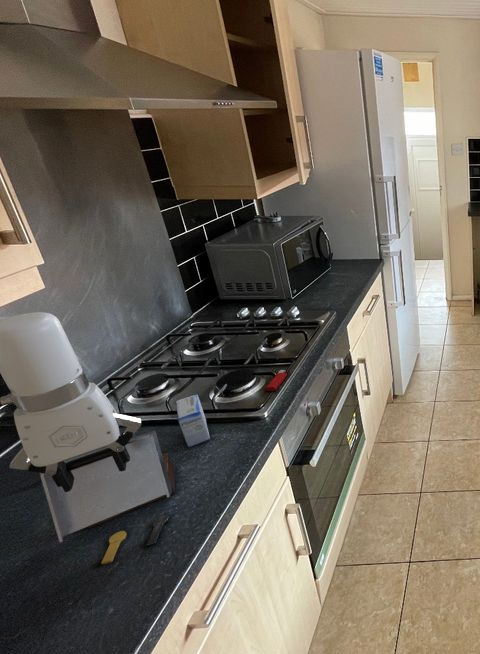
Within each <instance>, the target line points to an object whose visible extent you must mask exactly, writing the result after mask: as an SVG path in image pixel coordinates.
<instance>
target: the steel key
mask: <svg viewBox="0 0 480 654" xmlns="http://www.w3.org/2000/svg"><path fill="white" fill-rule="evenodd" d="M169 521H170V517H169V515H167V514H163V515H160V516H158V517H157V518H156V519H154V520H153V522H152V527H153V528H152V531H151V533H150V535H149V538H148V540H147V543H146V547H152V546H155V545H157V544H158V541H159V539H160V536H161V533H162V531H163V529H164V527H165V526H166V525H167V524H168V522H169Z"/></svg>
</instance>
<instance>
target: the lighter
mask: <svg viewBox="0 0 480 654" xmlns="http://www.w3.org/2000/svg"><path fill="white" fill-rule="evenodd" d="M288 375H289V373H288V371H286V369H280V370H278V372H277V373H276V375H275V376H274V377H273V378H272V380H270V382H269V383H268V385H267V386H266V387H265V391H267V392H275V391H277V389H278V388H279V386H280V385H281V384H282V383H283V381H285V379H286V377H287V376H288Z"/></svg>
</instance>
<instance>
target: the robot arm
mask: <svg viewBox="0 0 480 654" xmlns="http://www.w3.org/2000/svg"><path fill="white" fill-rule="evenodd" d="M0 375H1V377H2V379H3V381H4V383H5V384H6V386H7V388H8V390H9V391H10V393H8V394H7V395H3V396H0V404H1V405H2V406H7V405H15V406H16V409H15V410H14V411H13V419H14V424H15V427H16V431H17V434H18V437H19V439H20V443H21V445H22V448H21V449H20V450H19V451H18V452H17V453H16V455H15V456H14V457H13V458H12V460H11V462H10V464H9V469H13V470H20V471H21V470H22V471H28V472H31V473H37V474H40V473H44V474H45V475H46V476H52V478H53V480H54V482H55V483H56V485H57V487H61V486H62V488H63V490H64V491H65V492H68V491H70V490H71V489H72V486H73V482H74V476H73V474H72V472H71V471H68V469H67V466H66V464H67V463H66V462H64V461H66V460H69V459H72V458H75V457H78V456H81V455H84V454H87V453H90V452H93V451H96V450H99V449H102V448H105V447H108V448H110V449H112V450H113V453H112V457H113V459H114V461H115V463H116V465H117V467H118V469H119V471H121V472H122V471H125V470H126V463H127V462H129V461H130V456H129V453H128V451H127V449H126V447H125V446H126V444H127V443H128V442H129V441H130V439H131V438H133V436H134V435H135V433H137V431H138V430H139V429H140V428H141V426H142V423H143V419H142V418H139V417H135V416H130V415H127V414H121V413H117V411H116V409H115V408H114V406H113V404H112V403H111V401H110V400H109V398H108V397H107V396H106V394H105V393H104V392H103V390H102V389H101V388H100V387H99V386H98V385H97V384H96V383H95V382H90V381H89V380H88V378H87V375H86V373H85V371H84V370H83V368H82V366H81V363H80V362H79V359H78V357H77V355H76V353H75V350H74V348H73V346H72V345H71V342H70V340H69V338H68V335H67V334H66V332H65V330H64V328H63V325H62V323H61V321H60V320H59V318H58V317H57V316H55V314H53V313H49V312H44V311H43V312H42V311H36V312H34V311H33V312H28V313H27V312H26V313H22V314H21V313H20V314H17V315H16V314H15V315H13V316H0ZM120 426H121V427H126V428H125V429H124V430H123V431H122V433H120V428H119V427H120Z"/></svg>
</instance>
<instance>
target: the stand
mask: <svg viewBox="0 0 480 654" xmlns="http://www.w3.org/2000/svg"><path fill="white" fill-rule="evenodd" d="M162 456H163V460H164V463H165V467H166V470H167V474H168V477H169V481H170V484H171V488H172V493H171V495H172V494H175V492H176V491H175V489H176V488H175V486H176V485H175V483H176V482H175V481H176V480H175V477H176V476H175V475H176V474H175V472H176V470H175V467H174V465H173V462H172V460H171V457H170V455H169V453H167V452H166V453H164V454H162ZM164 498H167V495H166V494H165V495H163V496H160V497H158V498H156V499H153V500H151V501H148V502H146V503H143V504H141V505H139V506H136V507H134V508H131V509H129V510H126V511H124V512H122V513H119V514H117V515H114V516H112V517H110V518H107V519H105V520H102V521H100V522H97V523H95V524H93V525H90V526H88V527H87V528H88V529H91V528H94V527H95V526H98V525H101V524H103V523H105V522H108V521H110V520H113V519H115V518H118V517H120V516H123V515H125V514H127V513H130V512H132V511H134V510H137V509H139V508H142V507H145V506H146V505H149V504H152V503H153V502H156V501H159V500H161V499H164Z"/></svg>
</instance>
